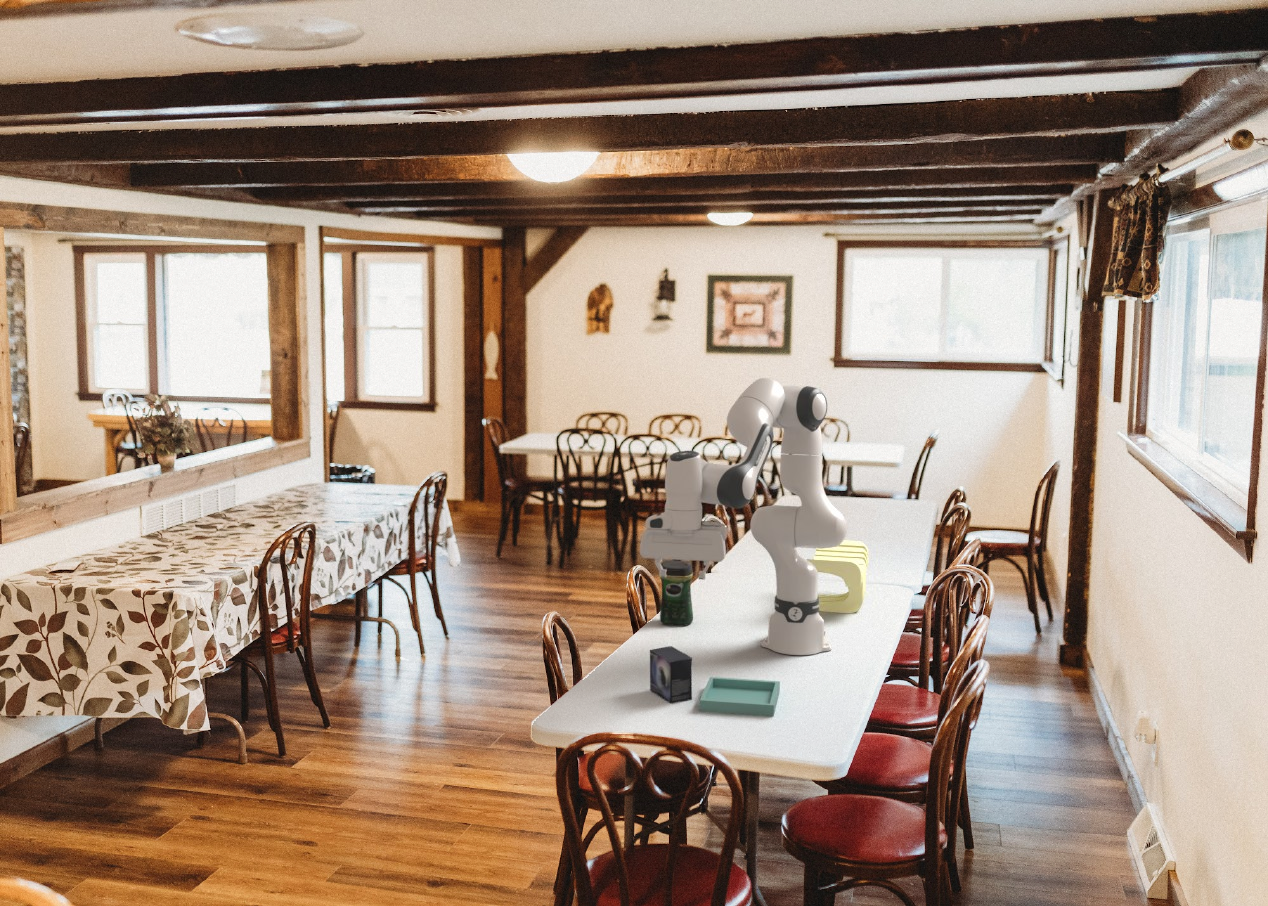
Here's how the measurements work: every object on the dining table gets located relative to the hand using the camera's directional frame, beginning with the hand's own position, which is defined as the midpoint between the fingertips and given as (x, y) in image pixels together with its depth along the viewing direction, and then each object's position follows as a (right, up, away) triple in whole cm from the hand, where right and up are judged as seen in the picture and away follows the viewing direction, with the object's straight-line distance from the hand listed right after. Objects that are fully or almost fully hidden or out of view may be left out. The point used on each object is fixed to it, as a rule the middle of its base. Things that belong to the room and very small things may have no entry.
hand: (682, 578), depth 277 cm
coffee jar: (+1, -20, +65) cm, 68 cm away
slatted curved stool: (+51, -18, +84) cm, 100 cm away
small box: (-3, -29, +3) cm, 29 cm away
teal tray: (+14, -29, -1) cm, 32 cm away
